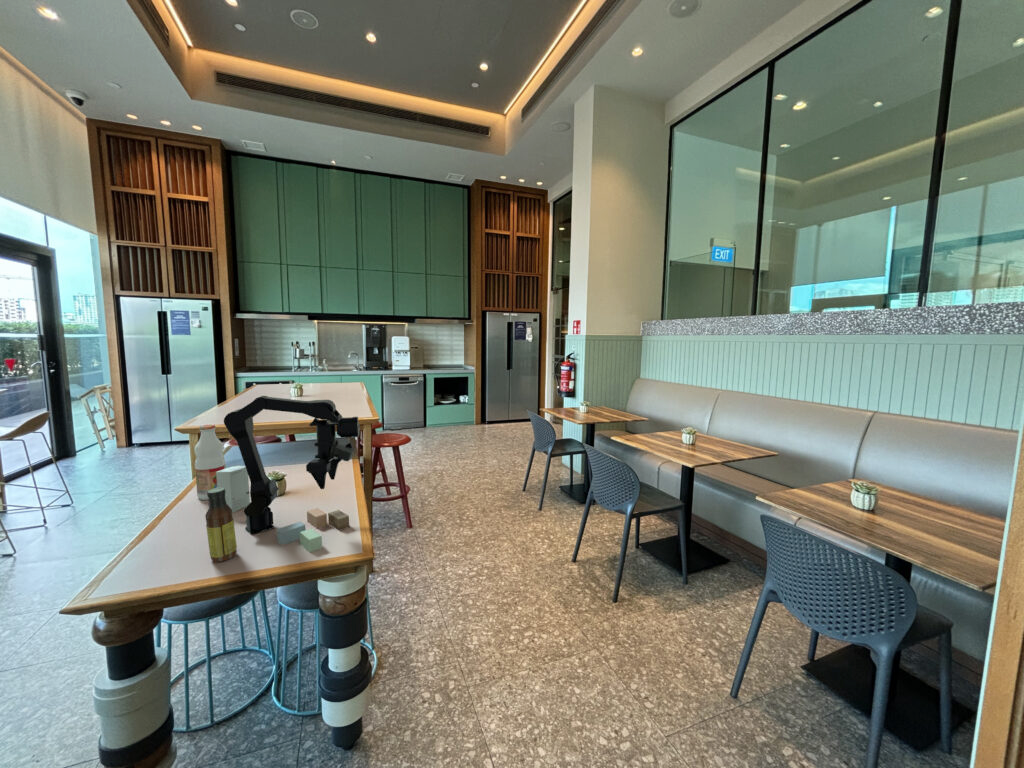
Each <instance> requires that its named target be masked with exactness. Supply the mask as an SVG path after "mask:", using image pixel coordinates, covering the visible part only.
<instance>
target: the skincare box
mask: <svg viewBox="0 0 1024 768" xmlns="http://www.w3.org/2000/svg"><path fill="white" fill-rule="evenodd" d="M216 476H217V488H225V492H226V493H225V500H226V503H227V505H228V506H229V507H230V508H231V509H232V514H233V513H235V512H237V511H240V510H241V509H243V508H246V507H247V506H248V505H249V504H250V502H251V497H250V484H249V482H250V479H249V476H248V473H247V470H246V467H245V465H233V466H229V467H225V469H223V470H220V471H217V472H216Z"/></svg>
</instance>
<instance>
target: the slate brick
mask: <svg viewBox="0 0 1024 768" xmlns="http://www.w3.org/2000/svg"><path fill="white" fill-rule="evenodd" d="M305 530H306V524H305V523H303V522H301V521H298V522H295V523H292V524H289V525H286V526H282V527H279V528H277V529H276V541H277V543H278V544H279V545H281V546H283V545H286V544H290V543H292V542H295V541H297V539H298V540H300V532H301V531H305Z"/></svg>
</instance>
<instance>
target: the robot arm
mask: <svg viewBox="0 0 1024 768" xmlns="http://www.w3.org/2000/svg"><path fill="white" fill-rule="evenodd" d="M336 407H337V406H336V404H335V402H334V401H332V400H330V399H315V400H314V399H313V400H301V399H299V400H298V399H291V398H283V397H273V396H268V395H260V396H259V397H256V398H255V399H254V400H252V402H250V403H248V404H246V405H245V406H244V407H242V408H239V409H236V410H232V411H231V412H228V413H227V414H226V415H225V417H224V419H223V424H224V426H225V428H226V430H227V431H228V433H229V435H231V436H232V437H233V439H234V440H235V441H236V442H237V446H238V449H239V452H240V455H241V458H242V460H243V464H244V466H245V467H246V470H247V473H248V479H249V482H250V486H249V495H250V504H249V505H248V506H245V507H244V509H243V510H242V511H243V514H244V516H245V518H246V526H245V528H244V529H245V530H246V531H247V532H248V533H249V534H250V535H255V534H258V533H262V532H265V531H267V530H272V529H274V528H275V526H274V513H273V511H272V509H271V507H270V505H271V504H272V503H273V502H274V500H275V499H277V496H278V491H279V489H280V488H279V487H278V486H277V482H276V478H269V477H268V476H267V474H266V470H265V467H264V465H263V461H262V459H261V455H260V453H259V450H258V447H257V444H256V441H255V440H256V439H255V437H254V419H253V418H254V417H255V416H257V415H258V414H259V413H260V412H262V411H263V410H266V411H267V410H268V411H276V412H286V413H293V414H295V413H297V414H303V415H306V416H309V417H311V418H313V420H312V421H311V422H310V423H309V426H310V427H316V429H315V430H316V431H315V432H316V441H315V442H314V446H315V447H316V454H314V459H312V460H310V461H309V462H307V463H306V464H305V467H306V468H305V470H306V472H307V473H309V474H310V475H311V476H312V478H313V479H314V481H315V482H316V484H317V486H318V487H319V489H320V490H324V489H325V487H326V480H327V478H326V477H327V473H328V475H329V478H330V480H335V478H336V474H337V471H338V466H339V463H340V462H341V461H342V460H343V461H344V462H349V461H351V459H352V458H353V456H354V453H355V449H356V448H354V443H351V442H348V443H347V444H340V442H339V439H337V438H336V435H337V436H338V437H340V438H341V439H342V438H343V439H344V438H345V439H346V438H359V437H360V431H361V430H360V429H361V428H360V426H361V424H360V423H359V416H351V417H343V416H342V414H341V413H340V412H339V411H338V410H337V408H336Z"/></svg>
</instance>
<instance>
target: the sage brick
mask: <svg viewBox="0 0 1024 768" xmlns="http://www.w3.org/2000/svg"><path fill="white" fill-rule="evenodd" d="M299 540H300V543H299V544H300V546H302V547H303V548H304V549H305V550H306V551H308V553H312V552H315V551H318V550H321V549H322V548H323V538H322V535H321V534H320V533H319V532H318V531H316V530H315V529H313V528H312V527H311V528H307V529H305V531H301V532H300V539H299Z"/></svg>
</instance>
